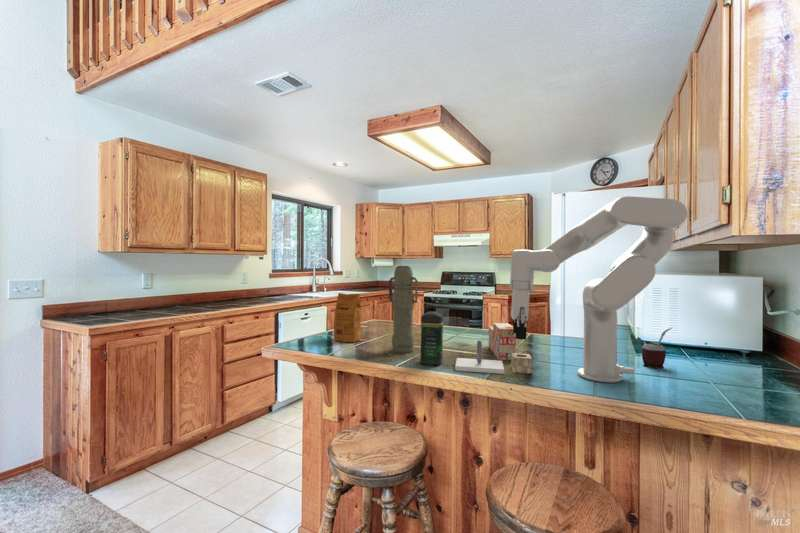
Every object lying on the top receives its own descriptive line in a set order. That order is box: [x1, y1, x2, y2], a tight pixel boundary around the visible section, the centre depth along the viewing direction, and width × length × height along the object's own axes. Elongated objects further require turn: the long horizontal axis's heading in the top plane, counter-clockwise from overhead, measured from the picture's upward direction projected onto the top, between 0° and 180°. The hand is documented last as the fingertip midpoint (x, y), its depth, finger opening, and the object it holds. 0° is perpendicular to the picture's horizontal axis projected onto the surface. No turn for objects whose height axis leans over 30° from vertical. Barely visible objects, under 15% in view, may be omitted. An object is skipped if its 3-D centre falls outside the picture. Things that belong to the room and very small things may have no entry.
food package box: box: [488, 322, 516, 361], centre depth 149 cm, size 21×6×12 cm, turn 176°
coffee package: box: [333, 292, 362, 343], centre depth 171 cm, size 10×12×22 cm
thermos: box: [388, 265, 418, 354], centre depth 152 cm, size 9×12×35 cm
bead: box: [510, 352, 533, 374], centre depth 126 cm, size 6×6×5 cm
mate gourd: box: [641, 327, 673, 370], centre depth 131 cm, size 8×8×15 cm
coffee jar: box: [419, 310, 444, 366], centre depth 135 cm, size 10×8×19 cm
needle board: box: [454, 339, 505, 375], centre depth 129 cm, size 16×11×10 cm
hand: (519, 336), depth 126 cm, fingers open, 9 cm apart
